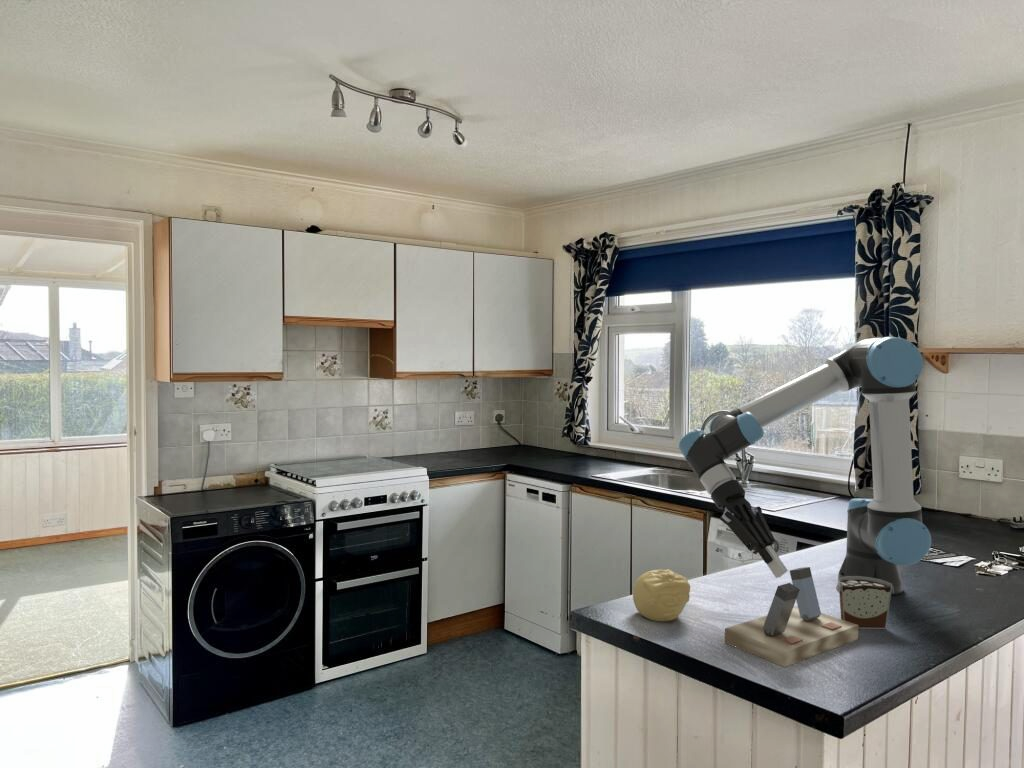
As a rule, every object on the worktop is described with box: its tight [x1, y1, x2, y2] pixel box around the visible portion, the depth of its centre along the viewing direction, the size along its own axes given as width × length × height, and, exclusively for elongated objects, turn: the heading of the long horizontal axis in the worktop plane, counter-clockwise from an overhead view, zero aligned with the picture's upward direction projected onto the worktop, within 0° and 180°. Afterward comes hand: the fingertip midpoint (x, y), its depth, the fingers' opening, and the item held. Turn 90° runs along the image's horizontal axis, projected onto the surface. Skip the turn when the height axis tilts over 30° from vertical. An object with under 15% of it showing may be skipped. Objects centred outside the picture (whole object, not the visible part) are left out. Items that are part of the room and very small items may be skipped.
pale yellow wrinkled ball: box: [632, 568, 691, 622], centre depth 165 cm, size 11×12×11 cm
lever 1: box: [763, 582, 800, 636], centre depth 147 cm, size 4×2×11 cm, turn 126°
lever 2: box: [789, 566, 822, 622], centre depth 158 cm, size 4×2×11 cm, turn 126°
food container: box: [835, 576, 894, 630], centre depth 163 cm, size 12×6×10 cm, turn 92°
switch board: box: [724, 605, 859, 668], centre depth 152 cm, size 26×14×3 cm, turn 126°
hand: (781, 574), depth 162 cm, fingers closed
